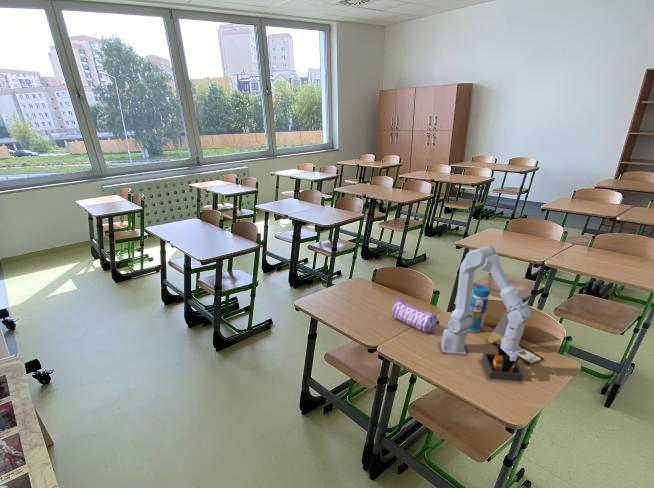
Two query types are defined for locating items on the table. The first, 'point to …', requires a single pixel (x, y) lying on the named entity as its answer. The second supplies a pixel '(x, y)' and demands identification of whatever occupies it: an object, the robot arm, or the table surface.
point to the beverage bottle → (479, 307)
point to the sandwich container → (499, 330)
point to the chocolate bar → (526, 355)
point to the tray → (488, 362)
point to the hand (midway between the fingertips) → (502, 366)
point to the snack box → (500, 364)
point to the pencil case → (414, 316)
